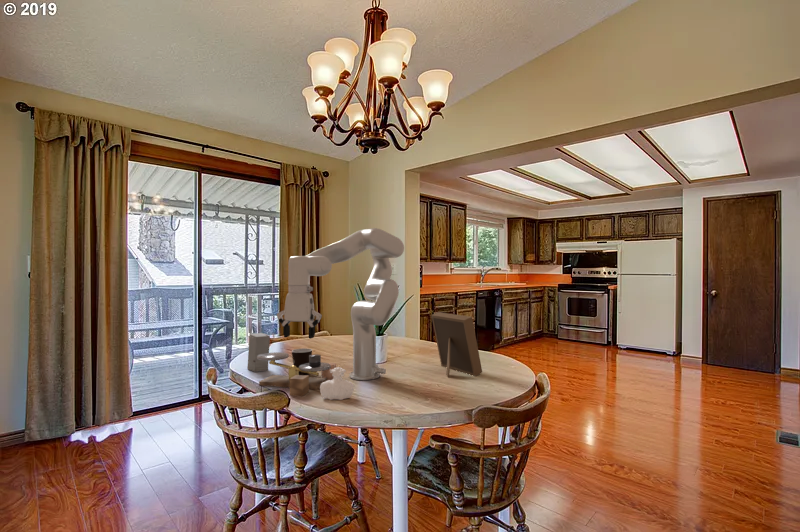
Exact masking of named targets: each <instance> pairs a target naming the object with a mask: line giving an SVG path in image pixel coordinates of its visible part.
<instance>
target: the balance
mask: <svg viewBox="0 0 800 532" xmlns="http://www.w3.org/2000/svg"><path fill="white" fill-rule="evenodd" d="M289 356H290V354H289V353H287V352H279V351H278V352H276V351H275V352H269V353H265V354H261V355H258V356H257V359H258V360H262V361H268V365H269V364H270V365H272V366H273V365H274V366H277V367H281V368H283V369H284V368H285V369H288V376H289V381H290V378H292V377H293V376H295V375H299V371H300V372H304V373H308V375H313V376H317V377H318V376H319V374H320V372H321V371H324V370H327V369H330V368H331V365H330V364H328V363H329V362H322V359H321V358H322V357H321V354H316V353H315V354H312V355H309V363H306V364H302V365H300V366H299V368H297V367H296V366H294V365H293V364H292V365H287V364H284V363H280V362H276V361H280V360H286V359H287V358H289Z"/></svg>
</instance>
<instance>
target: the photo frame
mask: <svg viewBox="0 0 800 532" xmlns="http://www.w3.org/2000/svg"><path fill="white" fill-rule="evenodd" d="M430 316H431V320H432V325H433V330H434V336H435V341H436V345H437V350H438V355H439V360H440V361H439V362H440V365H441V367H443V368H446V367H447V368H446V377H447V378H449V377H450V370H453V371H456V370H457V372H459V371H460V373H462V372H463V374H466V373H467V374H466V375H469V374H470V375H469V376H472V375H473V377H477V376H479V375H481V374H482V373H483V369H482V363H481V357H480V353H479V347H478V341H477V336H476V331H475V325H474V321H473V316H470V315H469V316H467V315H460V314H455V313H454V314H453V313H446V312H440V311H437V312H435V313H432V314H431V315H430Z"/></svg>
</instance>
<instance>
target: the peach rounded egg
mask: <svg viewBox="0 0 800 532" xmlns="http://www.w3.org/2000/svg"><path fill="white" fill-rule="evenodd" d="M327 363H328V364H330V365H331V368H330V369H327V370H324V371H320V372H321V373H320V374H321V377H320V378H327V381H328V380H333V378H334V376H332V374H333V372H332V373H330V371H329V370H332V369H334V368H337V363H335V362H327Z"/></svg>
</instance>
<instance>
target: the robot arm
mask: <svg viewBox="0 0 800 532" xmlns="http://www.w3.org/2000/svg"><path fill="white" fill-rule="evenodd" d="M367 250H369V251H370V254H371V258H372V261H373V268H372V270H371V273H370V275H369V277H368V280H367V281H366V284H365V286H364V289H363V295H364V297H365V298H366V299H368V300H358V301H356V302H355V303H354V304H353V305H352V306H351V309H350V318H351V323H352V335H353V336H352V340H353V341H352V352H353V353H352V355H353V356H352V357H353V358H352V364H353V365H352V367H353V368H352V370H353V371H352V372H350V373H349V376H348V377H349V378H351V379H353V380H357V381H369V380H375V379H378V378H379V377H380V376H381V374H382V375H384V374H387V372H386V371H387V370H386V368H384V367H379V364H377V332H376V328H375V326H383V325H385V324H386V323H387V322H388V320H389V319H390V316H391V313H392V312H393V309H394V308H395V307H394V306H395V305H396V301H397V300H398V297H399V285H398V283H397V282H396V280H394V279H392V278H391V277H392V274H393V268H392V264H391V261H390V259H395V258H400V257H401V256H402V255H403V254H404V252H405V245H404V243H403V241H402V240H401V238H399V237H397V236H395V235H393V234H391V233H389V232H387V231H385V230H383V229H381V228H377V227H373V228H364V229H359V230H357V231H355V232H353V233H352V234H350V235H347V236H346V237H345V238H342V239H341V240H339V241H336V242H333V243H331V244H329V245H326V246H324V247H321V248H318V249H316V250H314V251H312V252H311V253H309V254H306V255H293V256H290V257H289V258H288V280H287V281H288V293H287V294H286V297H285V303H284V309H283V310H281V311H279V312H277V313H276V317H277V319H278V322H279V323H280V324H281V326H282V327H283V328H282V330H283V333H282V334H283V338H289V337H290V336H291V325H289V324H290V323H291V322H294V323H295V322H298V323H299V322H300V323H307V324H308V326H309V327H308V339H310V340H311V339H313V338H315V335H316V327H317V326H318V324H319V323H320V322H321V321H320V320H321V319H322V317H323V315H322V314H321V313H319V312H318V311H317V310H315V304H314V303H315V302H314V296H313V294H312V293H311V292H313V291H314V287H313V286H311V283H310V281H311V276H315V277H324V276H326V275H328V274H329V273H330V272H331V271H332V268H333V264H338V263H339V264H340V263H343V262H346V261H350V260H352V259H353V258H355V257H356V256H358V255H360V254H361V253H363V252H365V251H367Z"/></svg>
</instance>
